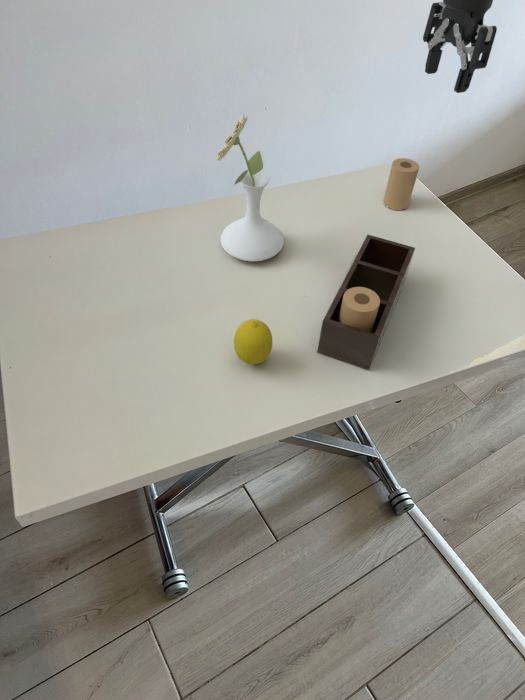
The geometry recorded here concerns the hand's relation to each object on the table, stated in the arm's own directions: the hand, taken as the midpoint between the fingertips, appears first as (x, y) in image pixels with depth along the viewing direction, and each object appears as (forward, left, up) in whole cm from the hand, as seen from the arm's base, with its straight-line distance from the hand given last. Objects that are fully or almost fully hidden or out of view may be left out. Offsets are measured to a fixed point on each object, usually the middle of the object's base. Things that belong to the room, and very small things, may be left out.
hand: (444, 82), depth 92 cm
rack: (+32, +19, -23) cm, 44 cm away
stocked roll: (+38, +23, -23) cm, 50 cm away
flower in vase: (+38, -5, -24) cm, 45 cm away
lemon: (+53, +17, -24) cm, 60 cm away
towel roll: (+4, -1, -23) cm, 24 cm away
